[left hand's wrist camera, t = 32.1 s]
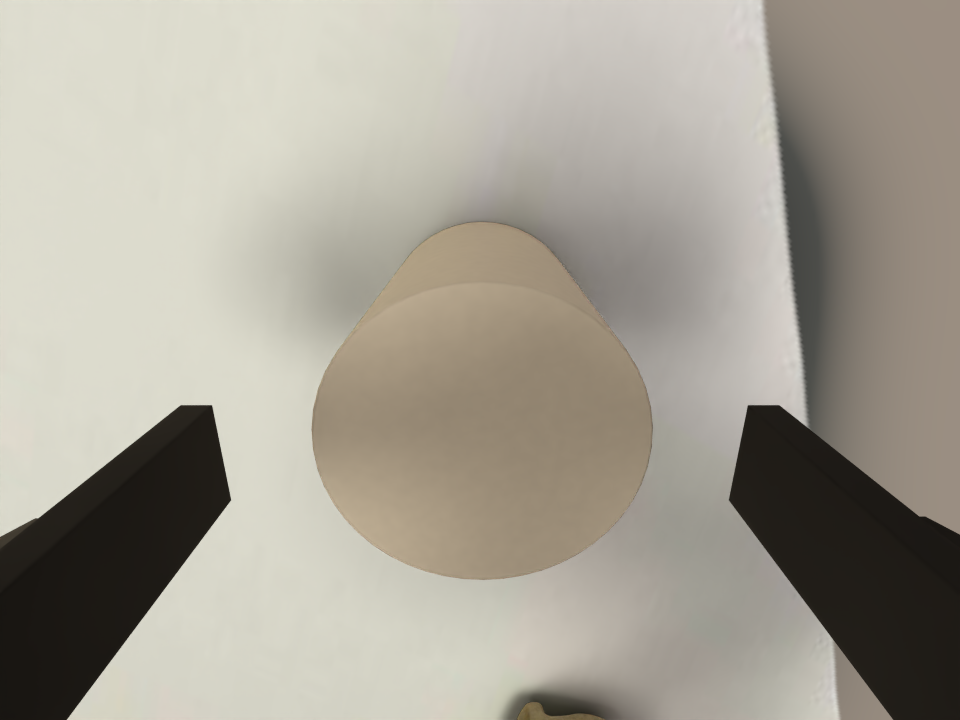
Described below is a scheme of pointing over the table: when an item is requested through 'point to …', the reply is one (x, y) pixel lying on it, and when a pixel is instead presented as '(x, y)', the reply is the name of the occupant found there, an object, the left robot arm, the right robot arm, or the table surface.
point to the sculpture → (534, 716)
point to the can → (482, 412)
